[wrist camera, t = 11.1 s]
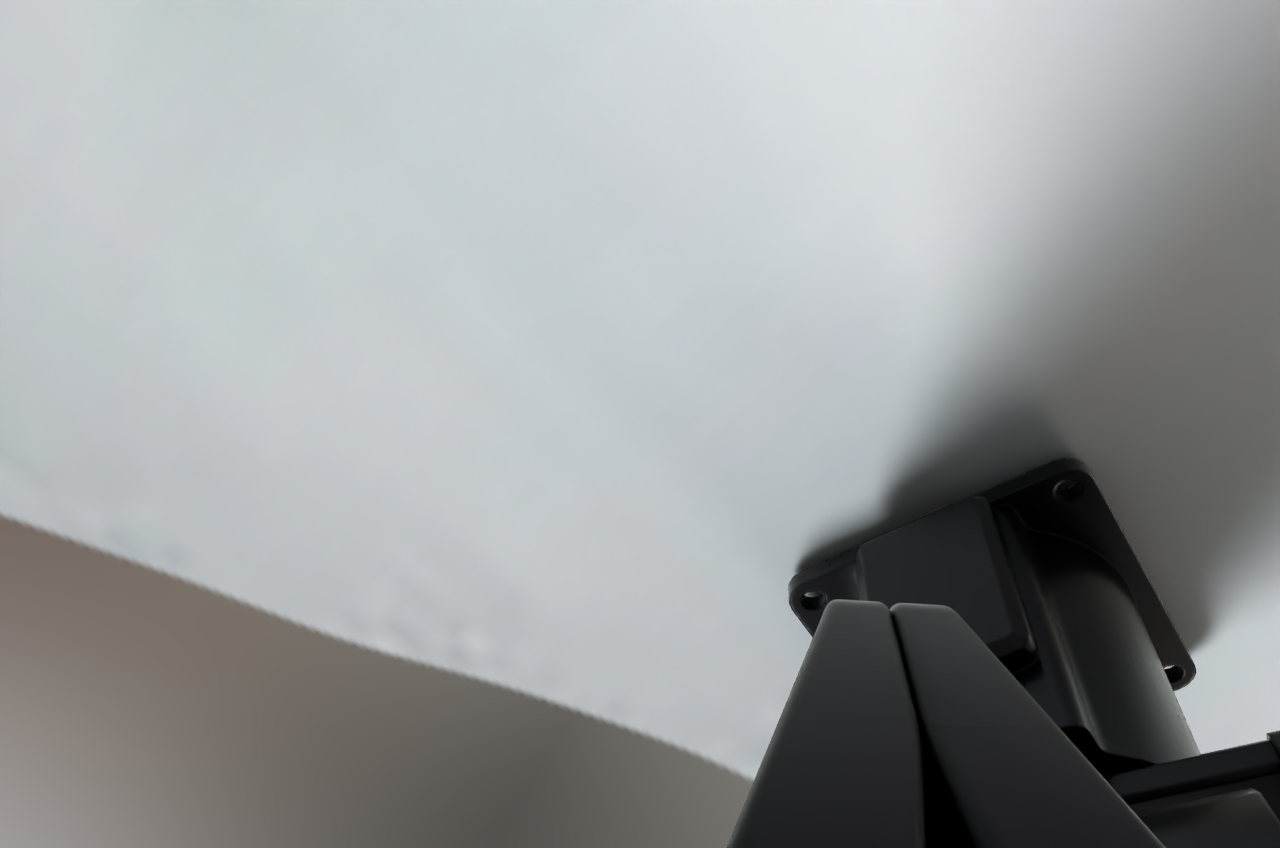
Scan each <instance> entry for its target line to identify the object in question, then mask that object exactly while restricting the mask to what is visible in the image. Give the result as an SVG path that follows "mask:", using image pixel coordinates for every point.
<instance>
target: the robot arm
mask: <svg viewBox="0 0 1280 848" xmlns="http://www.w3.org/2000/svg"><path fill="white" fill-rule="evenodd" d="M1069 480H1072V481H1076V483H1075V485H1074V486H1072V487H1071V488H1069V489H1065V490H1059V489H1056V488H1057V486H1058V485H1060V484H1061V483H1062V482H1065V481H1069ZM812 591H815V592H820V593H821V595H819V596H817V597H807V596H805V595H804V594H806V593H807V592H812ZM788 592H789V604H790V606H791V609H792V610H793V612H794V613H795V614H796V616H797V617H798V618H799V620H800V621H801V622H802V624H803V625H804V626H805V628H806V629H807V630H808V632H809V633H810V634H811V636H812V637H813V639H812V642H811V644H810V647H809V649H808V651H807V654H806V656H805V659H804V661H803V664H802V666H801V668H800V671H799V673H798V676H797V678H796V681H795V683H794V685H793V688H792V690H791V693H790V695H789V698H788V700H787V702H786V705H785V707H784V710H783V712H782V715H781V717H780V719H779V722H778V724H777V727H776V729H775V732H774V734H773V736H772V739H771V741H770V744H769V746H768V749H767V751H766V753H765V756H764V758H763V761H762V763H761V766H760V768H759V770H758V773H757V775H756V778H755V780H754V783H753V785H752V788H751V790H750V792H749V795H748V797H747V800H746V802H745V804H744V807H743V809H742V812H741V814H740V817H739V819H738V822H737V824H736V826H735V829H734V831H733V834H732V836H731V839H730V841H729V843H728V846H727V848H1280V731H1276V732H1271V733H1267V740H1265V741H1260V742H1256V743H1251V744H1247V745H1242V746H1238V747H1233V748H1228V749H1224V750H1219V751H1215V752H1210V753H1206V754H1200V752H1199V749H1198V747H1197V745H1196V742H1195V740H1194V738H1193V735H1192V733H1191V731H1190V729H1189V726H1188V724H1187V722H1186V719H1185V717H1184V715H1183V712H1182V710H1181V708H1180V706H1179V703H1178V701H1177V699H1176V696H1175V694H1174V692H1173V691H1176V690H1178V689H1181V688H1183V687H1185V686H1187V685H1188V684H1189V683H1190V682H1191V681H1192V680H1193V679H1194V677H1195V674H1196V668H1195V665H1194V663H1193V660H1192V658H1191V656H1190V654H1189V652H1188V650H1187V648H1186V646H1185V645H1184V643H1183V641H1182V639H1181V637H1180V635H1179V634H1178V632H1177V630H1176V628H1175V626H1174V624H1173V623H1172V621H1171V619H1170V617H1169V615H1168V613H1167V611H1166V610H1165V608H1164V606H1163V604H1162V602H1161V600H1160V599H1159V597H1158V595H1157V593H1156V591H1155V589H1154V588H1153V586H1152V584H1151V582H1150V580H1149V578H1148V577H1147V575H1146V573H1145V571H1144V569H1143V567H1142V566H1141V564H1140V562H1139V560H1138V558H1137V556H1136V554H1135V553H1134V551H1133V549H1132V547H1131V545H1130V543H1129V542H1128V540H1127V538H1126V536H1125V534H1124V532H1123V531H1122V529H1121V527H1120V525H1119V523H1118V521H1117V520H1116V518H1115V516H1114V514H1113V512H1112V510H1111V509H1110V507H1109V505H1108V503H1107V501H1106V499H1105V498H1104V496H1103V494H1102V492H1101V490H1100V488H1099V486H1098V485H1097V483H1096V481H1095V479H1094V477H1093V475H1092V474H1091V472H1090V470H1089V468H1088V467H1087V466H1086V465H1085V464H1084V463H1083V462H1081V461H1079V460H1076V459H1073V458H1062V459H1059V460H1055V461H1052V462H1050V463H1048V464H1045V465H1043V466H1041V467H1038V468H1036V469H1034V470H1032V471H1029V472H1027V473H1025V474H1023V475H1020V476H1018V477H1016V478H1013V479H1011V480H1009V481H1007V482H1004V483H1002V484H1000V485H998V486H995V487H993V488H991V489H988V490H986V491H984V492H982V493H979V494H977V495H975V496H972V497H968V498H966V499H964V500H961V501H959V502H957V503H954V504H952V505H950V506H948V507H945V508H943V509H941V510H939V511H936V512H934V513H932V514H929V515H927V516H925V517H923V518H920V519H918V520H916V521H914V522H911V523H909V524H907V525H904V526H902V527H900V528H898V529H895V530H893V531H891V532H889V533H886V534H884V535H882V536H879V537H877V538H875V539H873V540H870V541H868V542H866V543H864V544H862V545H861V546H859V547H856V548H854V549H852V550H850V551H847V552H845V553H843V554H841V555H838V556H836V557H834V558H831V559H829V560H827V561H825V562H822V563H820V564H818V565H816V566H813V567H811V568H809V569H806V570H804V571H802V572H800V573H798V574H797V575H795V576H794V577H793V578H792V580H791V581H790V583H789V589H788ZM1171 665H1175V666H1173V667H1171V668H1169V669H1163V668H1165V667H1166V666H1171Z"/></svg>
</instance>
